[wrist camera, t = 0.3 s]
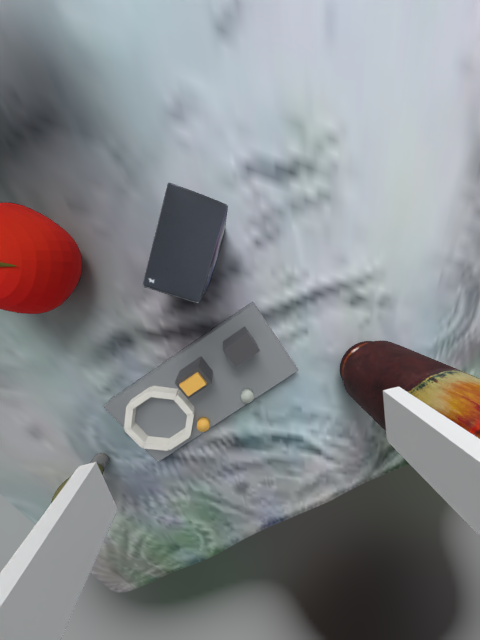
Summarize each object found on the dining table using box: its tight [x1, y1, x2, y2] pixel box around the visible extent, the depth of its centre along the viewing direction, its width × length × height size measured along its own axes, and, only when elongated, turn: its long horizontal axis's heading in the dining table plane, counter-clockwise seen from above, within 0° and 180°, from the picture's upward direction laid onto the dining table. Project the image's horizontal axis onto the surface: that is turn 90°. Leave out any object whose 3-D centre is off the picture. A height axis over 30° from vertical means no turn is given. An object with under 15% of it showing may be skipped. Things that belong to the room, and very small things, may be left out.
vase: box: [340, 341, 480, 439], centre depth 26 cm, size 11×11×26 cm
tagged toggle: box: [175, 357, 213, 399], centre depth 32 cm, size 3×4×4 cm
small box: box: [143, 183, 228, 303], centre depth 27 cm, size 11×6×10 cm, turn 162°
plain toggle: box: [223, 327, 260, 367], centre depth 31 cm, size 3×4×4 cm
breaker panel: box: [104, 302, 298, 462], centre depth 35 cm, size 13×28×4 cm, turn 124°
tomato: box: [0, 203, 82, 314], centre depth 26 cm, size 11×12×10 cm
